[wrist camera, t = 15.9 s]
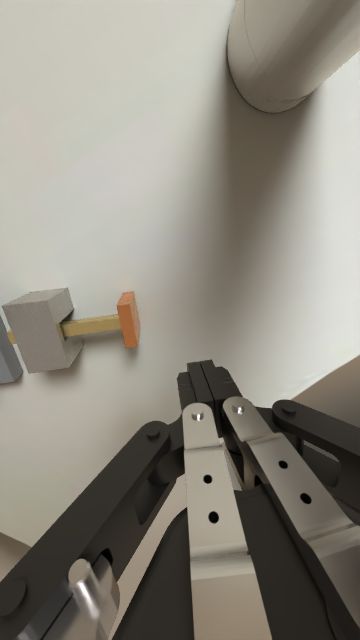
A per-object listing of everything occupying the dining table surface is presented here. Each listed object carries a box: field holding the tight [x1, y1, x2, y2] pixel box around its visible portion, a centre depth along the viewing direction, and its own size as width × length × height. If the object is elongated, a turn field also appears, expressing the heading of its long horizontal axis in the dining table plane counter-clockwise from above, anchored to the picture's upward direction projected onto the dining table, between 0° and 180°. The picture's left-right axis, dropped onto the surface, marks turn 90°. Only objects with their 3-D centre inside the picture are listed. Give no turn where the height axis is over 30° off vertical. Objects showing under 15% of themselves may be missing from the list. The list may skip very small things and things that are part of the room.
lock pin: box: [7, 292, 140, 348], centre depth 24 cm, size 12×4×5 cm, turn 96°
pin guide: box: [2, 288, 84, 373], centre depth 24 cm, size 7×4×5 cm, turn 6°
